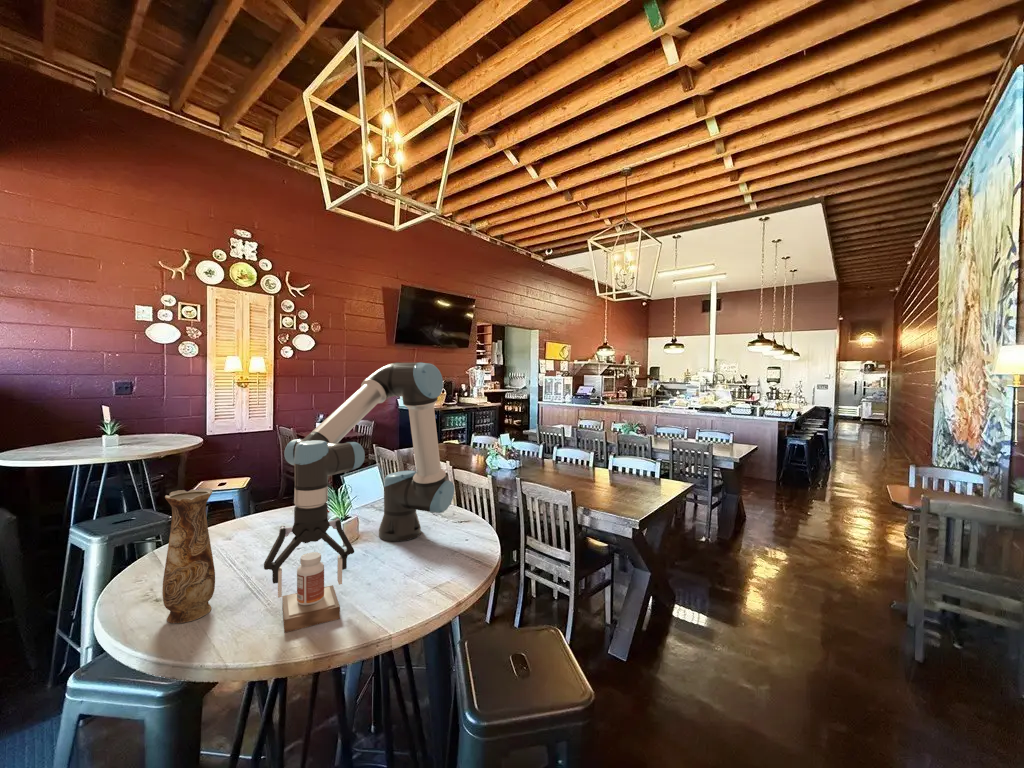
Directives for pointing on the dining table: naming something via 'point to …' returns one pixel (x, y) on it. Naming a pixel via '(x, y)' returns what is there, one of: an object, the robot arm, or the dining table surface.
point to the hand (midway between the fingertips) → (310, 588)
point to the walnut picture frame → (310, 611)
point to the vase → (188, 558)
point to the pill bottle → (310, 579)
